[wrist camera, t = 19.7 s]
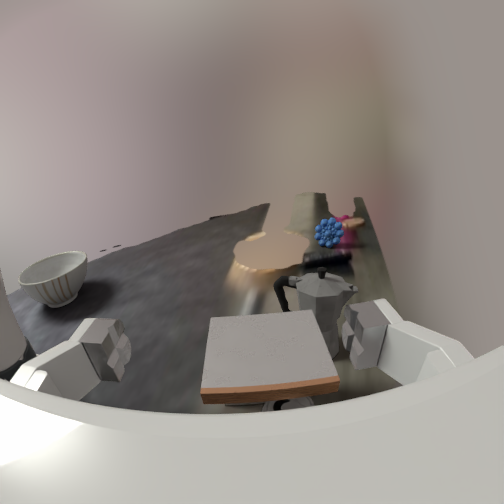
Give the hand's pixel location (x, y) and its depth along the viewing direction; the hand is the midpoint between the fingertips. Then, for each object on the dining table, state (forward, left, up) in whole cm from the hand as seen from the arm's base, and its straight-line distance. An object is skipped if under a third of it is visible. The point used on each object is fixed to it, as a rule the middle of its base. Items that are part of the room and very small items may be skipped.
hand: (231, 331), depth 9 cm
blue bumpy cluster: (+32, +89, -32) cm, 100 cm away
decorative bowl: (-63, +60, -32) cm, 93 cm away
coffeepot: (+12, +34, -32) cm, 48 cm away
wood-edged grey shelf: (+2, +17, -32) cm, 36 cm away
